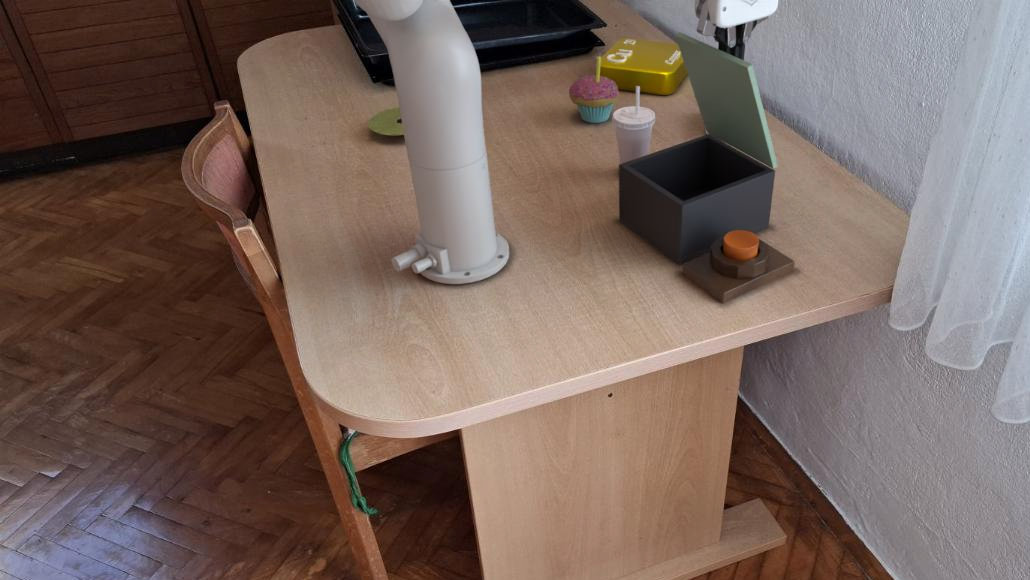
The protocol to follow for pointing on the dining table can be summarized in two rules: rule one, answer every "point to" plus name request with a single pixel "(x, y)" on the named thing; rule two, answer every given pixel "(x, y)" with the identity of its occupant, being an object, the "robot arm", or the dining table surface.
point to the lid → (728, 98)
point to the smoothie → (633, 130)
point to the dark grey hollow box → (694, 196)
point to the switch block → (736, 271)
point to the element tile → (644, 66)
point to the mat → (387, 122)
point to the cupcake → (594, 96)
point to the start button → (740, 245)
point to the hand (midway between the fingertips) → (729, 73)
